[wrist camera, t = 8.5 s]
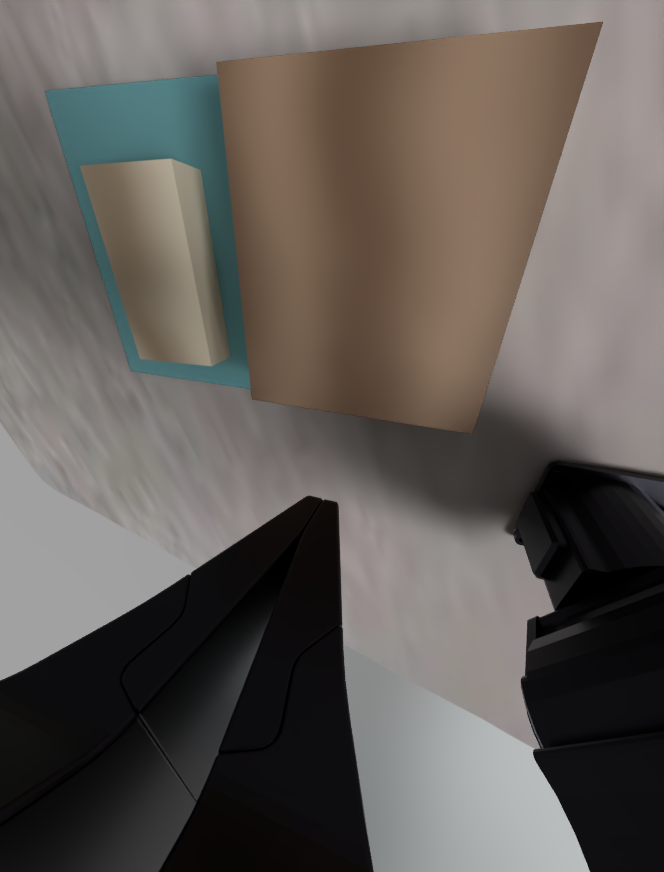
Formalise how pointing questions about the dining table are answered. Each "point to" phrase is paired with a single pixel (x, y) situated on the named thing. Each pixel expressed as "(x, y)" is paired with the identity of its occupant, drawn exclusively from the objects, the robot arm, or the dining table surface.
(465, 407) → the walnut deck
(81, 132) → the teal mat
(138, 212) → the birch tile
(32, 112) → the dining table surface
